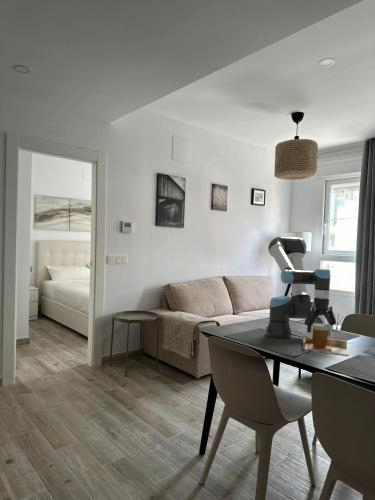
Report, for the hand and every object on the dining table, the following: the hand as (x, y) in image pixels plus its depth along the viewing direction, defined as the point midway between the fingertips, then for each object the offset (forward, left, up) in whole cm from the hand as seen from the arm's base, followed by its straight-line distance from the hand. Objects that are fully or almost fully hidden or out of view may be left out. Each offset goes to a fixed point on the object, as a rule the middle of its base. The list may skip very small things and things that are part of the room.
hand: (319, 337), depth 189 cm
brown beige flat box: (+3, +1, -6) cm, 7 cm away
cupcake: (-2, +41, -6) cm, 42 cm away
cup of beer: (0, 0, -5) cm, 5 cm away
